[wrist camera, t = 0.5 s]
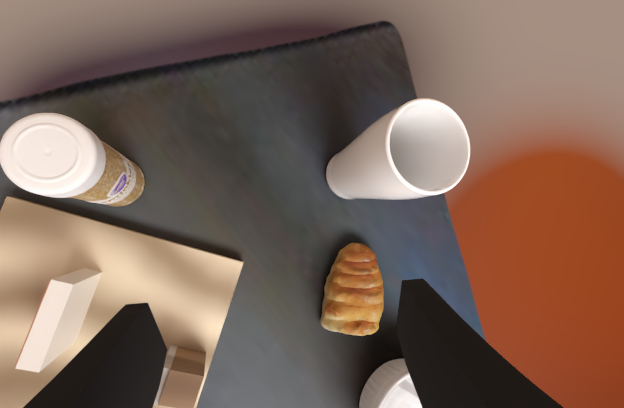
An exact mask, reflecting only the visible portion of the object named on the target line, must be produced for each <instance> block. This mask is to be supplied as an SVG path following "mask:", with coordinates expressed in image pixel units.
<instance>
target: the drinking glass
mask: <svg viewBox="0 0 624 408" xmlns="http://www.w3.org/2000/svg"><path fill="white" fill-rule="evenodd" d="M469 158H470V142H469V137H468V133H467V131H466V128H465V126H464V124H463V122H462V121H461V119H460V118H459V116H458V115H457V114H456V113H455V112H454V111H453V110H452V109H451V108H450V107H448V106H447V105H445V104H444V103H442V102H439V101H437V100H434V99H428V98H427V99H426V98H421V99H415V100H412V101H409V102H407V103H405V104H404V105H402V106H400V107H398V108H396V109H394V110H392V111H391V112H389V113H387V114H386V115H384V116H382V117H381V118H380V119H378V120H377V121H375V122H374V123H373V124H372V125H370V126H369V127H368V128H367V129H366V130H365V131H363V132H362V133H361V134H360V135H359V136H358V137H357V138H356V139H355V140H353V141H352V142H351V143H350V144H349V145H348V146H347V147H345V148H344V149H343V150H342V151H340V152H339V153H337V154H336V155H334V156H333V157H332V159H331V160H330V161H329V163H328V166H327V170H326V179H327V183H328V185H329V187H330V189H331V190H332V191H333V192H334V193H335V194H336V195H338V196H339V197H341V198H344V199H358V198H359V199H387V200H405V199H415V198H422V197H427V196H432V195H437V194H441V193H444V192H446V191H448V190H450V189H452V188H453V187H454V186H455V185H456V184H458V182H459V181H460V180H461V178H462V177H463V176H464V174H465V172H466V170H467V167H468V164H469Z"/></svg>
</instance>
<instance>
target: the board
mask: <svg viewBox="0 0 624 408" xmlns="http://www.w3.org/2000/svg"><path fill="white" fill-rule="evenodd" d="M242 266H243V261H239V260H236V259H232V258H229V257H225V256H222V255H218V254H215V253H211V252H208V251H204V250H200V249H197V248H193V247H190V246H186V245H183V244H179V243H176V242H172V241H169V240H165V239H161V238H158V237H154V236H151V235H147V234H144V233H140V232H137V231H133V230H130V229H126V228H123V227H119V226H115V225H112V224H108V223H105V222H101V221H98V220H94V219H91V218H87V217H84V216H80V215H77V214H73V213H69V212H66V211H62V210H59V209H55V208H52V207H48V206H45V205H41V204H38V203H34V202H30V201H27V200H23V199H20V198H16V197H9V196H7V197H6V199H5V202H4V204H3V206H2V208H1V211H0V408H23V407H24V406H25V405H26V404H27V403H28V402H29V401H30V400H31V399H32V398H33V397H34V396H35V395H37V394H38V393H39V392H40V391H41V390H42V389H43V388H44V387H45V386H46V385H47V384H48V383H49V382H50V381H51V380H52V379H53V378H54V377H55V376H56V375H57V374H58V373H59V372H60V371H61V370H62V369H63V368H64V367H65V366H66V365H67V364H68V363H69V362H70V361H71V360H72V359H73V358H74V357H75V356H76V355H77V354H78V353H79V352H80V351H81V350H82V349H83V348H84V347H85V346H86V345H87V344H88V343H89V342H90V341H91V340H92V338H93V337H94V336H95V335H96V334H97V333H98V332H99V331H100V330H101V329H102V328H103V327H104V326H105V325H106V324H107V323H108V322H109V321H110V320H111V319H112V318H113V317H114V316H115V315H116V314H117V313H118V312H119V311H120V310H121V309H122V308H123V307H124V306H125V305H126V304H137V303H148V304H149V307H150V309H151V312H152V314H153V316H154V319H155V321H156V324H157V326H158V328H159V331H160V333H161V335H162V338H163V340H164V343H165V345H166V347H167V353H168V351H169V348H170V346H171V345H174V346H179V347H183V348H188V349H193V350H198V351H203V352H206V360H205V371H204V378H203V381H202V384H201V387H200V390H199V393H198V396H197V399H196V402H195V405H194V408H196V406H197V403H198V400H199V397H200V394H201V391H202V388H203V385H204V382H205V379H206V376H207V373H208V370H209V367H210V363H211V360H212V357H213V354H214V351H215V348H216V345H217V342H218V339H219V336H220V333H221V330H222V327H223V324H224V321H225V318H226V315H227V312H228V308H229V305H230V302H231V299H232V296H233V293H234V290H235V287H236V284H237V281H238V278H239V275H240V272H241V269H242ZM83 268H88V269H92V270H96V271H100V272H102V274H101V277H100V280H99V282H98V285H97V287H96V290H95V293H94V295H93V298H92V300H91V303H90V306H89V308H88V311H87V313H86V316H85V319H84V321H83V324H82V327H81V329H80V332H79V334H78V337H77V340H76V342H75V343H74V344H72V345H71V346H70V347H69V348H68V349H66V350H65V351H64V352H63V353H62V354H60V355H59V356H58V357H57V358H56V359H55V360H53V361H52V362H51V363H50V364H49V365H47V366H46V367H45V368H44V369H43V370H41V371H40V372H39V373H38V372H32V371H27V370H21V369H15V368H16V365H17V364H16V362H17V359H18V357H19V354H20V352H21V349H22V347H23V344H24V342H25V339H26V337H27V334H28V332H29V329H30V327H31V324H32V322H33V319H34V317H35V314H36V312H37V310H38V307H39V305H40V302H41V300H42V297H43V295H44V292H45V290H46V287H47V285H48V282H49V281H51V279H54V278H57V277H60V276H62V275H65V274H68V273H71V272H74V271H77V270H80V269H83ZM166 356H167V354H166ZM153 408H173V407H167V406H161V405H158V403H154V405H153Z"/></svg>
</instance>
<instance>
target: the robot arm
mask: <svg viewBox="0 0 624 408" xmlns="http://www.w3.org/2000/svg"><path fill="white" fill-rule="evenodd" d="M396 330H397V334H398V338H399V342H400V346H401V349H402V353H403V357H404V360H405V364H406V366H407V369H408V372H409V374H410V377H411V380H412V382H413V385H414V387H415V390H416V393H417V395H418V398H419V400H420V403H421V405H422V408H563V407H562V406H561V405H560V404H558V403H557V402H556V401H554V400H553V399H552V398H551V397H549V396H548V395H547V394H546V393H544V392H543V391H542V390H541V389H539V388H538V387H537V386H536V385H535V384H533V383H532V382H531V381H530V380H529V379H527V378H526V377H525V376H524V375H523V374H522V373H520V372H519V371H518V370H517V369H516V368H515V367H513V366H512V365H511V364H510V363H509V362H508V361H507V360H506V359H504V358H503V357H502V356H501V355H500V354H499V353H498V352H497V351H496V350H495V349H493V348H492V347H491V346H490V345H489V344H488V343H487V342H486V341H485V340H484V339H483V338H482V337H481V336H480V335H479V334H478V333H477V332H475V331H474V330H473V329H472V328H471V327H470V326H469V325H468V324H467V323H466V322H465V321H464V320H463V319H462V318H461V317H460V316H459V315H458V314H457V313H456V312H455V311H454V310H453V309H452V308H451V307H450V306H449V305H448V304H447V303H446V302H445V301H444V300H443V299H442V297H441V296H440V295H439V294H438V293H437V292H436V291H435V290H434V289H433V288H432V287H431V286H430V285H429V284H428V283H427V282H426V281H425V280H424V279H414V280H402V285H401V293H400V301H399V309H398V317H397V325H396ZM166 354H167V347H166V345H165V343H164V340H163V338H162V335H161V333H160V331H159V328H158V326H157V324H156V321H155V319H154V316H153V314H152V312H151V309H150V307H149V304H148V303H137V304H126V305H125V306H124V307H123V308H122V309H121V310H120V311H119V312H118V313H117V314H116V315H115V316H114V317H113V318H112V319H111V320H110V321H109V322H108V323H107V324H106V325H105V326H104V327H103V328H102V329H101V330H100V331H99V332H98V333H97V334H96V335H95V336H94V337H93V338H92V340H91V341H90V342H89V343H88V344H87V345H86V346H85V347H84V348H83V349H82V350H81V351H80V352H79V353H78V354H77V355H76V356H75V357H74V358H73V359H72V360H71V361H70V362H69V363H68V364H67V365H66V366H65V367H64V368H63V369H62V370H61V371H60V372H59V373H58V374H57V375H56V376H55V377H54V378H53V379H52V380H51V381H50V382H49V383H48V384H47V385H46V386H45V387H44V388H43V389H42V390H41V391H40V392H39V393H38V394H37V395H35V396H34V397H33V398H32V399H31V400H30V401H29V402H28V403H27V404H26V405H25V406H24V407H23V408H153V405H154V402H155V399H156V396H157V393H158V389H159V386H160V382H161V377H162V373H163V369H164V364H165V359H166Z"/></svg>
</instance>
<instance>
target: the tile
mask: <svg viewBox="0 0 624 408" xmlns="http://www.w3.org/2000/svg"><path fill="white" fill-rule="evenodd" d="M101 274H102V272H100V271H96V270H92V269H88V268H83V269H80V270H77V271H74V272H71V273H68V274H65V275H62V276H60V277H57V278H54V279H51V281H49V282H48V285H47V287H46V290H45V292H44V295H43V297H42V300H41V302H40V305H39V307H38V310H37V312H36V314H35V317H34V319H33V322H32V324H31V327H30V329H29V332H28V334H27V337H26V339H25V342H24V344H23V347H22V349H21V352H20V354H19V357H18V359H17V362H16V364H17V365H16V368H15V369H21V370H27V371H32V372H38V373H39V372H40V371H41V370H43V369H44V368H45V367H46V366H47V365H49V364H50V363H51V362H52V361H53V360H55V359H56V358H57V357H58V356H59V355H60V354H62V353H63V352H64V351H65V350H66V349H68V348H69V347H70V346H71V345H72V344H74V343H75V342H76V340H77V337H78V334H79V332H80V329H81V327H82V324H83V321H84V319H85V316H86V313H87V311H88V308H89V306H90V303H91V300H92V298H93V295H94V293H95V290H96V287H97V285H98V282H99V280H100V277H101Z"/></svg>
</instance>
